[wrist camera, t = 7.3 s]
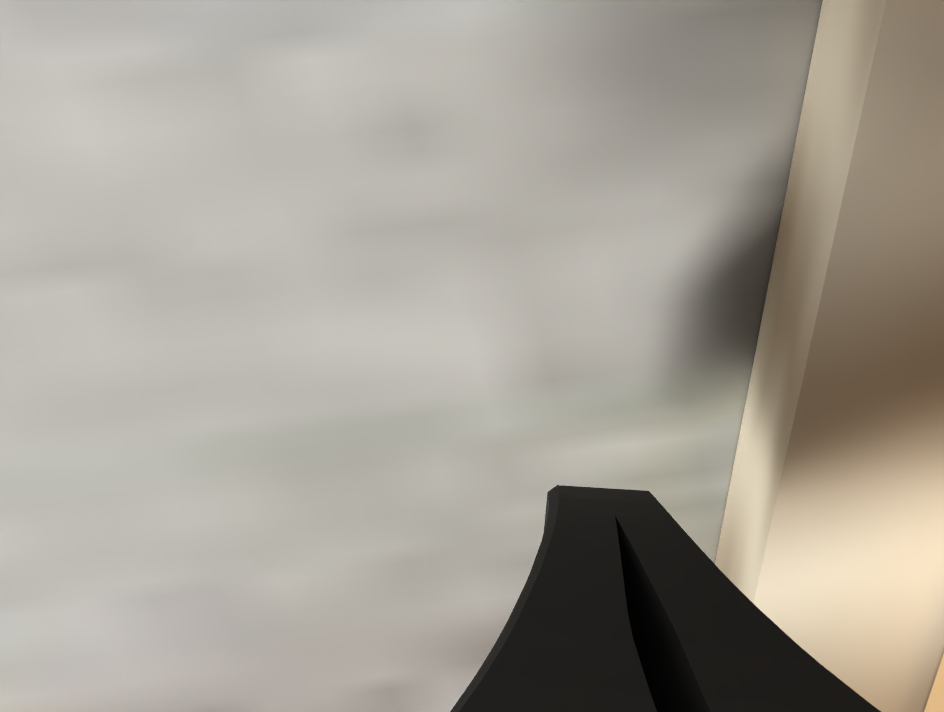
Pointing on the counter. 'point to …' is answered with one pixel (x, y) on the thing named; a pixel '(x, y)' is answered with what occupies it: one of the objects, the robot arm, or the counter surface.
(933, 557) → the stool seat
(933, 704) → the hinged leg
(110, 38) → the counter surface
